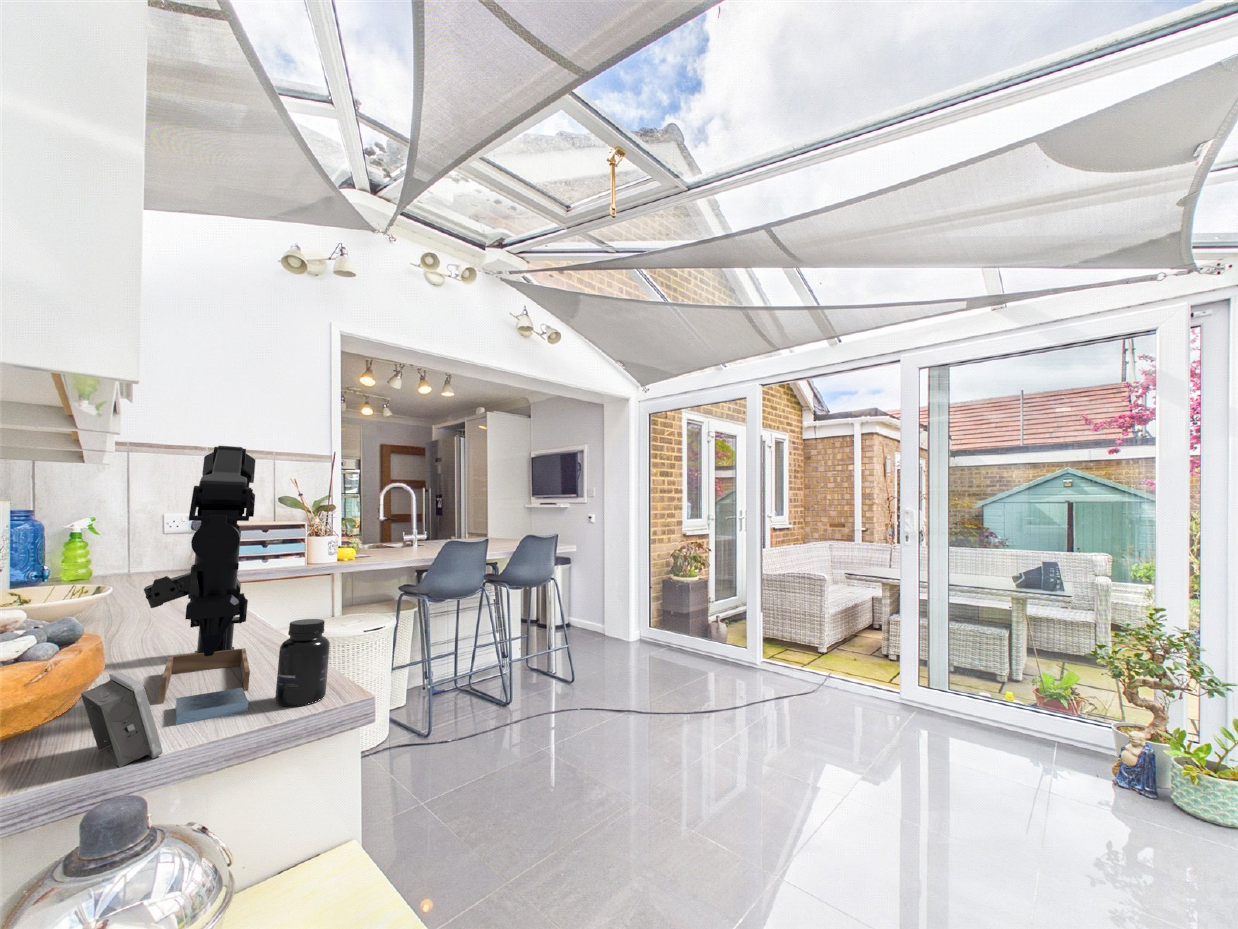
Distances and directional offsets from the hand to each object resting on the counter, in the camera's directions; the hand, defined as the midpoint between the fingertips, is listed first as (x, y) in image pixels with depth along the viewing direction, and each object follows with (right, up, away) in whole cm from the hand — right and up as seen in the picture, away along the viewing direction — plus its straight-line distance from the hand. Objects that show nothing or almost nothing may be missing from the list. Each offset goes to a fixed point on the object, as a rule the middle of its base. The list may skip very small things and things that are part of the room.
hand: (208, 655), depth 84 cm
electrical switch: (+6, -4, -22) cm, 23 cm away
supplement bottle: (+16, -6, -2) cm, 17 cm away
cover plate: (+6, -6, -7) cm, 11 cm away
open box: (-5, -7, +6) cm, 10 cm away
